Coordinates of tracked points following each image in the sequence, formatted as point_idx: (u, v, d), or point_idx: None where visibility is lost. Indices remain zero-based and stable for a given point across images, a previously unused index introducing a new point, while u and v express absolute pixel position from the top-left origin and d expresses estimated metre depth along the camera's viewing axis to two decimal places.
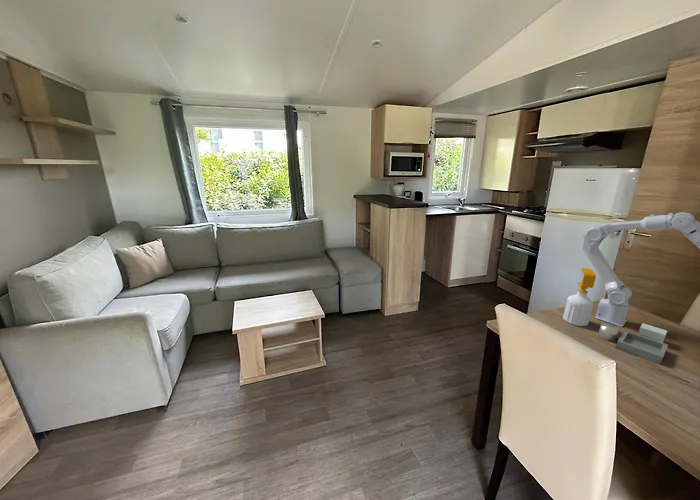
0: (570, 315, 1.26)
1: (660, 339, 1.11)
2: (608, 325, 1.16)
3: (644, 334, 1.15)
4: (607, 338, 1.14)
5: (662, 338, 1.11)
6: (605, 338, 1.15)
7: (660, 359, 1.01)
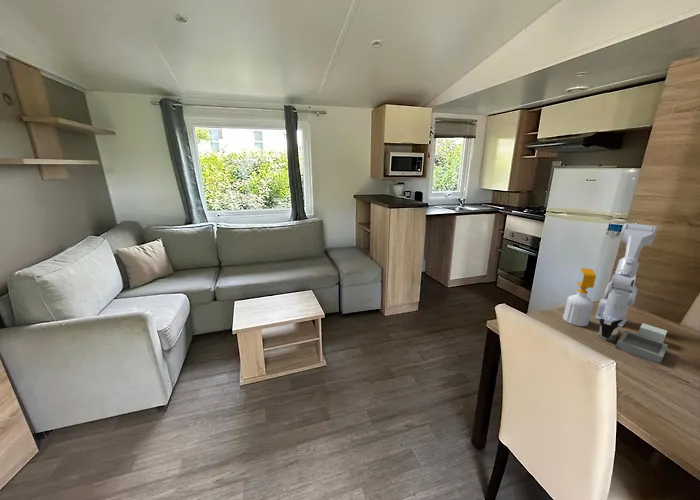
0: (570, 315, 1.26)
1: (660, 339, 1.11)
2: None
3: (644, 334, 1.15)
4: (607, 338, 1.14)
5: (662, 338, 1.11)
6: (605, 338, 1.15)
7: (660, 359, 1.01)
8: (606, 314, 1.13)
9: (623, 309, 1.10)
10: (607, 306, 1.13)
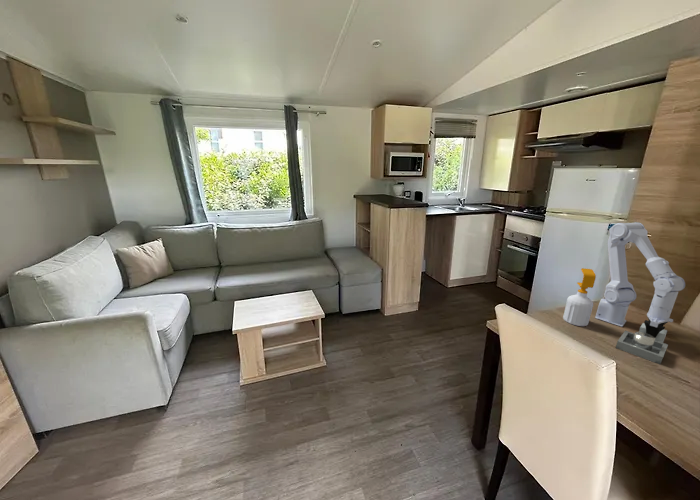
0: (570, 315, 1.26)
1: (660, 339, 1.11)
2: (643, 334, 1.08)
3: None
4: None
5: (662, 338, 1.11)
6: None
7: (660, 359, 1.01)
8: (651, 316, 1.12)
9: (670, 311, 1.09)
10: (652, 308, 1.12)
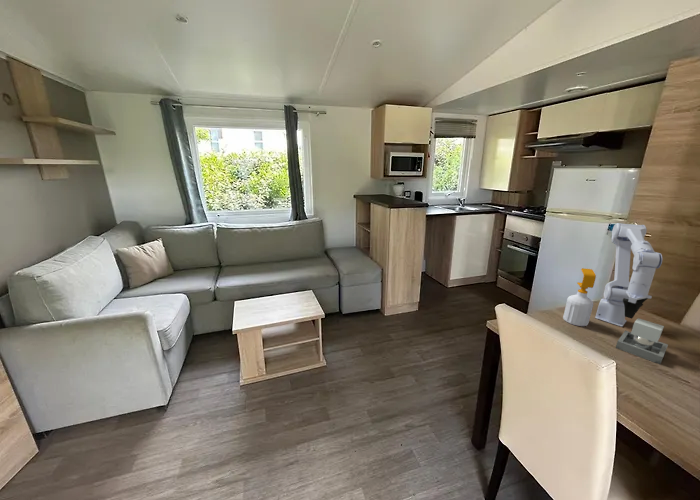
0: (570, 315, 1.26)
1: (656, 335, 1.03)
2: None
3: (639, 329, 1.07)
4: None
5: (658, 334, 1.03)
6: None
7: (660, 359, 1.01)
8: (630, 293, 1.11)
9: (648, 287, 1.08)
10: (631, 285, 1.11)
